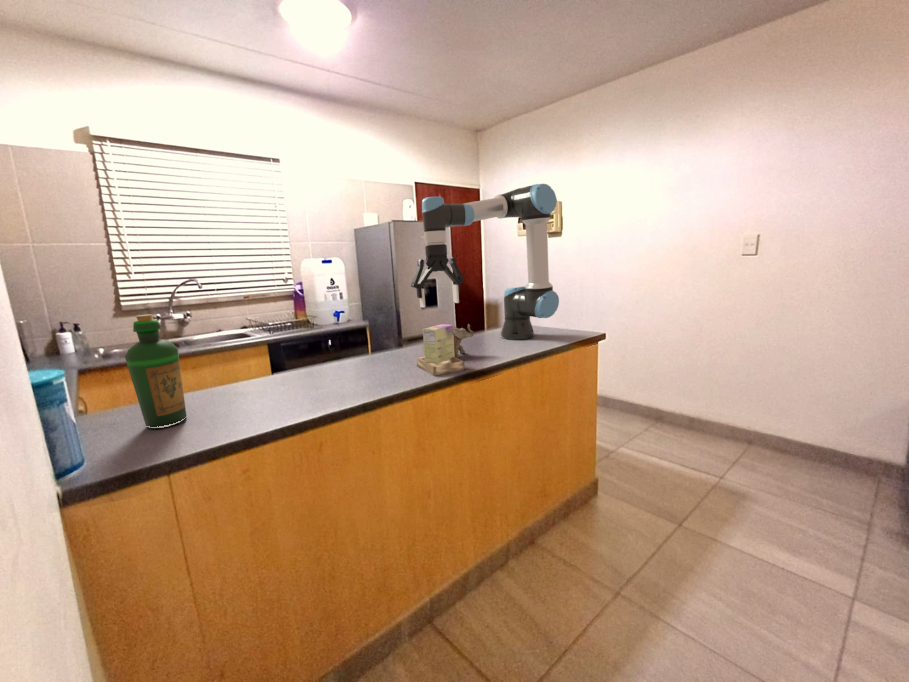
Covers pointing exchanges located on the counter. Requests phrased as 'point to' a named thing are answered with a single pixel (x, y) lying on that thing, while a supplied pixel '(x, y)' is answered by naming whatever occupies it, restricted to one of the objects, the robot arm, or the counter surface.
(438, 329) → the box
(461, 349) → the figurine
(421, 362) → the tray
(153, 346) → the bottle
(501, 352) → the counter surface
